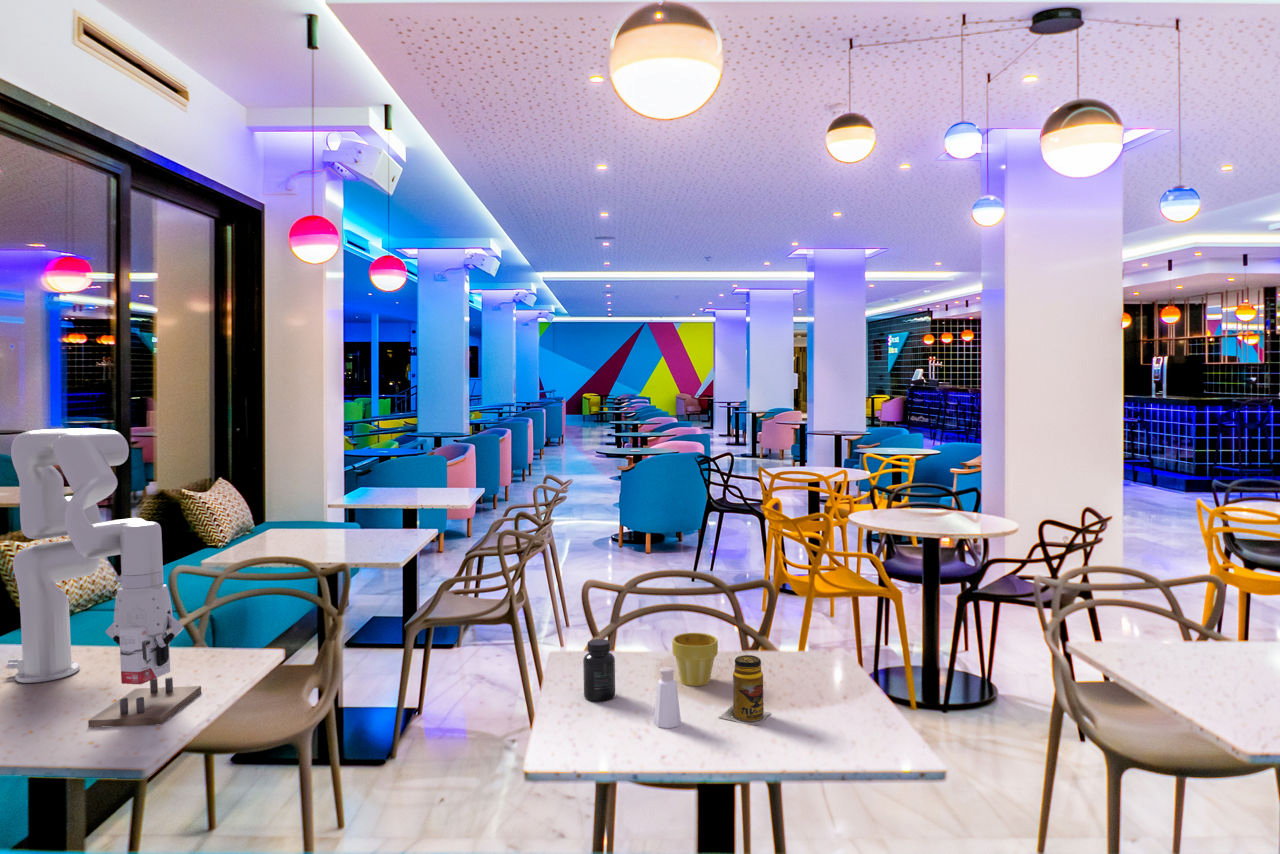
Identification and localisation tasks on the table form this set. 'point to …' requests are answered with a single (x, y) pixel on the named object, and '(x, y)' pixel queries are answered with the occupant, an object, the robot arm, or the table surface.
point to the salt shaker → (667, 700)
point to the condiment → (747, 692)
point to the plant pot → (695, 657)
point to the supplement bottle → (599, 671)
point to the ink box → (139, 656)
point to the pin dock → (146, 705)
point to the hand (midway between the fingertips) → (146, 664)
